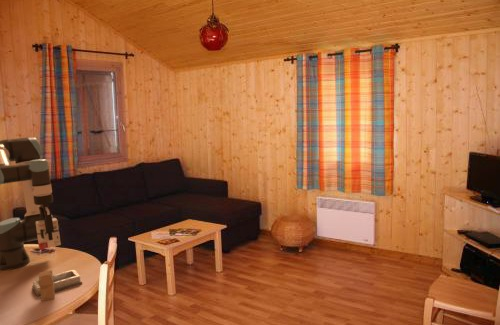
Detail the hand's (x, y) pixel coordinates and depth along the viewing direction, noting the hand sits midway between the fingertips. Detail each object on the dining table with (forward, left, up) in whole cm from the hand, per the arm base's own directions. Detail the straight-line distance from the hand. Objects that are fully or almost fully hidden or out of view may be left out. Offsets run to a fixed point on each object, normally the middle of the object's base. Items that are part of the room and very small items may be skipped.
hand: (49, 245), depth 185 cm
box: (+14, -6, -18) cm, 24 cm away
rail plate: (+4, 0, -18) cm, 18 cm away
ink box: (0, 0, -1) cm, 1 cm away
